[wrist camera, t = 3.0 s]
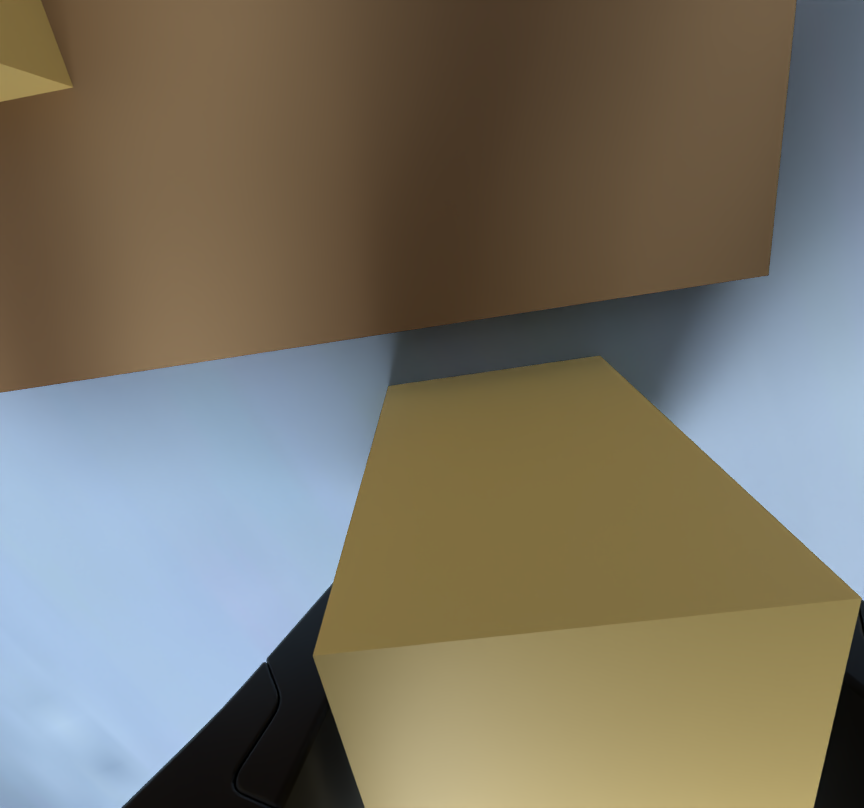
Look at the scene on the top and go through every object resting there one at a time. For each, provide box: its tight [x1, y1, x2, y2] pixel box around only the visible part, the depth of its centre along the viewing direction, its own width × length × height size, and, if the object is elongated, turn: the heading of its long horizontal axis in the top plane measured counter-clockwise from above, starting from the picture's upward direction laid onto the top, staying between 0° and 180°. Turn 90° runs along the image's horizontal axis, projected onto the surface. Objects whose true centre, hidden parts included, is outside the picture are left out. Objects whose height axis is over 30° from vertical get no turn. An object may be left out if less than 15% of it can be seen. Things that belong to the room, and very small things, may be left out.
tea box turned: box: [313, 356, 862, 808], centre depth 7 cm, size 6×4×6 cm
